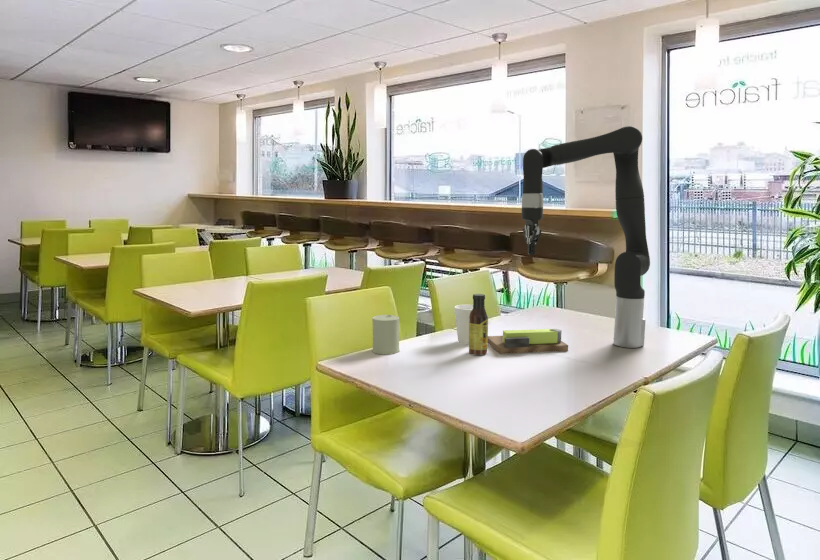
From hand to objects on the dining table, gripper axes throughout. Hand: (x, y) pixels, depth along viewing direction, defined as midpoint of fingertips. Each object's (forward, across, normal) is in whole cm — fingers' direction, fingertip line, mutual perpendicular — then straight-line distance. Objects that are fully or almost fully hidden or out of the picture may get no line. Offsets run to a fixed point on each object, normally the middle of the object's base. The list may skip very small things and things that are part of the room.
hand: (531, 254), depth 207 cm
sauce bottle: (+31, +17, -25) cm, 43 cm away
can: (+31, +9, -55) cm, 63 cm away
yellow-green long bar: (+29, +15, -5) cm, 33 cm away
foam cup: (+31, +3, -25) cm, 40 cm away
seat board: (+31, +11, -6) cm, 33 cm away
